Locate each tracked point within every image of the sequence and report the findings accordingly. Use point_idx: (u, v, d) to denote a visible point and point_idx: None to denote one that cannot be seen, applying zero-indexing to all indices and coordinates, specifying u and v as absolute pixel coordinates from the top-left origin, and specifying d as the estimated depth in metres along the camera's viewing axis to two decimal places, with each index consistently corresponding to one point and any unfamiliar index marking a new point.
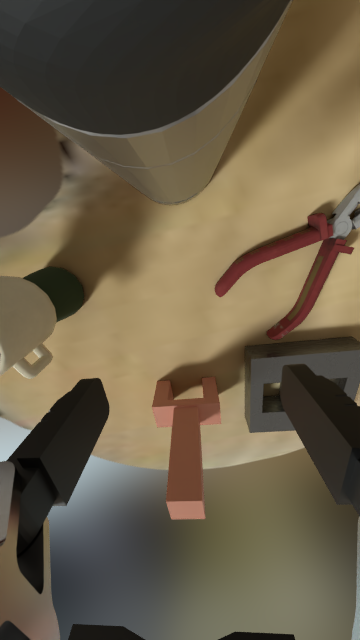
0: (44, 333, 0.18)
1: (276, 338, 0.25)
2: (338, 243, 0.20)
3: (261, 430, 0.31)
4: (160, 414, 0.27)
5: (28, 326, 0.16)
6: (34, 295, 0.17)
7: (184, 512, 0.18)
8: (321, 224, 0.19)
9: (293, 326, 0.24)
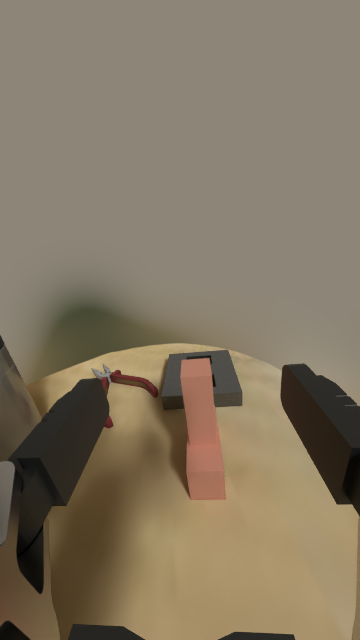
0: None
1: (153, 388, 0.39)
2: (111, 374, 0.45)
3: (237, 385, 0.35)
4: (199, 462, 0.22)
5: None
6: None
7: (198, 368, 0.21)
8: None
9: (147, 382, 0.41)
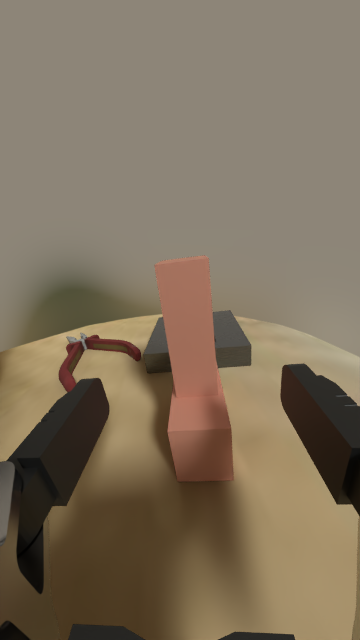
0: None
1: (135, 349, 0.31)
2: (87, 338, 0.37)
3: (244, 339, 0.27)
4: (190, 418, 0.13)
5: None
6: None
7: (186, 259, 0.13)
8: (70, 344, 0.35)
9: (129, 343, 0.33)
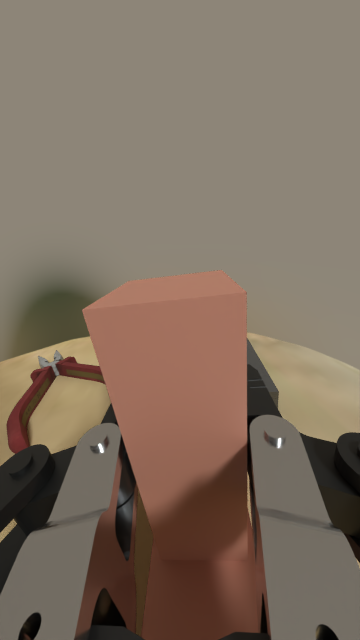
0: None
1: None
2: (58, 362, 0.29)
3: (267, 378, 0.19)
4: None
5: None
6: None
7: (179, 285, 0.05)
8: (36, 371, 0.28)
9: None
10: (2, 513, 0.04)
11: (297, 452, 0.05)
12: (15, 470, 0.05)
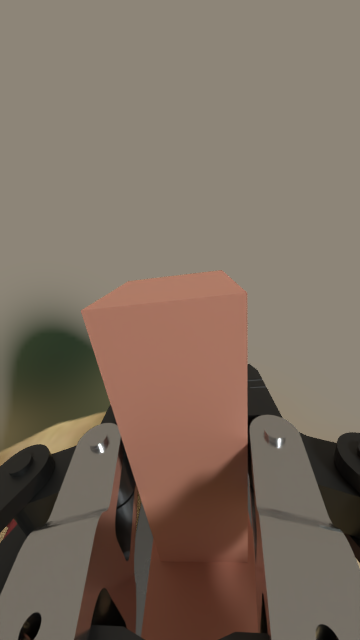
0: None
1: None
2: None
3: None
4: None
5: None
6: None
7: (179, 285, 0.05)
8: None
9: None
10: (1, 513, 0.04)
11: (297, 452, 0.05)
12: (15, 470, 0.05)
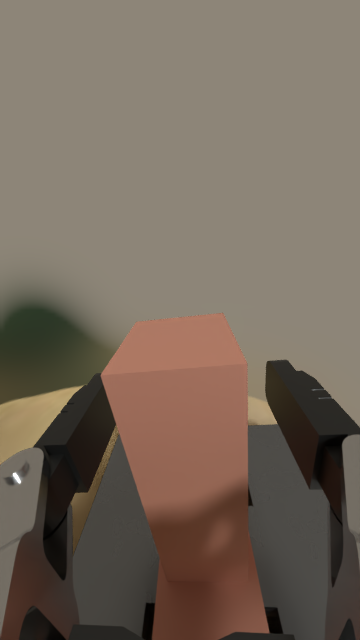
0: None
1: None
2: None
3: None
4: None
5: None
6: None
7: (185, 339, 0.06)
8: None
9: None
10: None
11: None
12: None
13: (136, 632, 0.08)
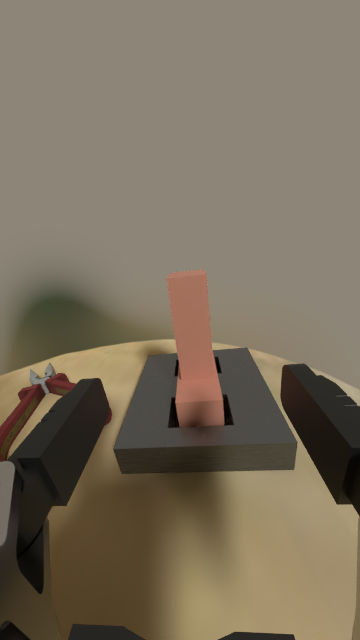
0: None
1: None
2: (48, 380, 0.28)
3: (281, 422, 0.16)
4: (192, 394, 0.18)
5: None
6: None
7: (189, 273, 0.17)
8: (24, 390, 0.26)
9: None
10: None
11: None
12: None
13: (168, 402, 0.20)
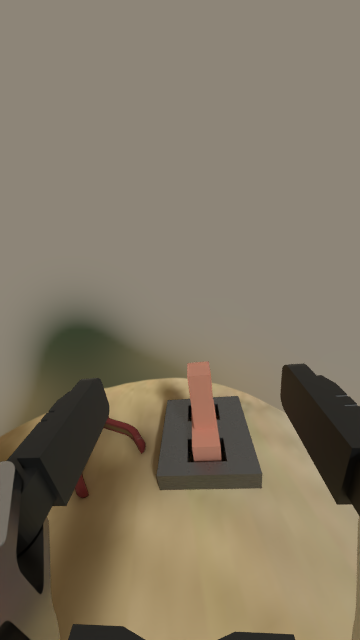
0: None
1: (140, 442, 0.33)
2: None
3: (255, 459, 0.27)
4: (202, 441, 0.29)
5: None
6: None
7: (200, 369, 0.28)
8: None
9: (134, 432, 0.35)
10: None
11: None
12: None
13: (186, 443, 0.31)
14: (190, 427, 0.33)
